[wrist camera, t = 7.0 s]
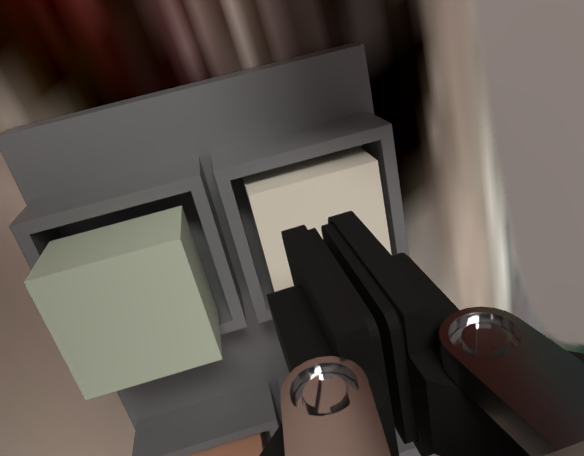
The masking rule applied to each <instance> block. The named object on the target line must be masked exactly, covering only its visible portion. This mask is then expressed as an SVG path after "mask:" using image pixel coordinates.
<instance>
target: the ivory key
mask: <svg viewBox="0 0 584 456" xmlns="http://www.w3.org/2000/svg"><path fill="white" fill-rule="evenodd" d="M242 179H243V183H244V186H245V190H246V194H247V197H248V201H249V204H250V208H251V212H252V215H253V219H254V223H255V226H256V230H257V234H258V237H259V241H260V244H261V248H262V252H263V255H264V259H265V263H266V266H267V270H268V273H269V277H270V280H271V283H272V287H273V290H274V292H276V291H279V290H282V289H286V288H289V287H292V286H294V284H293V280H292V276H291V272H290V268H289V264H288V260H287V256H286V252H285V248H284V244H283V239H282V235H281V231H284V230H287V229H291V228H294V227H297V226H301V225H305V226H306V228H307V229H308V230H309V229H312V228H316V230H317V231H318V233H319V234H320V236H321V237H322V239H323V236H322V231H321V226H322V225H326V224H328V217H331V216H334V215H338V214H341V213H344V212H348V211H353V212H354V213H355V215H356V216H357V217H358V218H359V219H360V220H361V221H362V222H363V224H364V225H365V226H366V227H367V228H368V229H369V230H370V231H371V233H372V234H373V235H374V236H375V237H376V238H377V239H378V240H379V242H380V243H381V244H382V245H383V246H384V247H385V248H386V250H387V251H388V252H389V253H390V254H391V247H390V240H389V234H388V227H387V220H386V213H385V207H384V200H383V193H382V186H381V180H380V173H379V166H378V160H376V159H375V158H374V157H372V156H371V155H370V154H368V153H367V152H366V151H364V150H363V149H362V148H360V147H359V146H356V147H352V148H348V149H345V150H341V151H337V152H333V153H330V154H326V155H322V156H319V157H315V158H311V159H308V160H304V161H300V162H296V163H293V164H289V165H285V166H282V167H278V168H274V169H270V170H267V171H263V172H259V173H256V174H252V175H248V176H244V177H242ZM391 255H392V254H391Z"/></svg>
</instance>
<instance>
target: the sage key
mask: <svg viewBox="0 0 584 456" xmlns="http://www.w3.org/2000/svg"><path fill="white" fill-rule="evenodd" d="M24 284H25V286H26V288H27V290H28V292H29V294H30V295H31V297H32V299H33V301H34V303H35V305H36V307H37V309H38V311H39V313H40V315H41V316H42V318H43V320H44V322H45V324H46V326H47V328H48V330H49V332H50V334H51V335H52V337H53V339H54V341H55V343H56V345H57V347H58V349H59V351H60V353H61V355H62V356H63V358H64V360H65V362H66V364H67V366H68V368H69V370H70V372H71V374H72V376H73V377H74V379H75V381H76V383H77V385H78V387H79V389H80V391H81V393H82V395H83V396H84V398H85V400H89V399H92V398H95V397H98V396H102V395H105V394H108V393H112V392H115V391H118V390H122V389H125V388H128V387H132V386H135V385H138V384H142V383H145V382H148V381H152V380H155V379H158V378H162V377H165V376H168V375H172V374H175V373H178V372H182V371H185V370H188V369H192V368H195V367H198V366H202V365H205V364H208V363H212V362H215V361H218V360H222V348H221V337H220V327H219V316H218V311H217V308H216V305H215V302H214V299H213V296H212V293H211V290H210V287H209V284H208V281H207V278H206V275H205V272H204V269H203V266H202V263H201V261H200V258H199V255H198V252H197V249H196V246H195V243H194V240H193V237H192V234H191V231H190V228H189V225H188V222H187V219H186V216H185V213H184V210H183V207H182V206H178V207H175V208H171V209H167V210H164V211H160V212H156V213H152V214H149V215H145V216H141V217H138V218H134V219H130V220H127V221H123V222H119V223H116V224H112V225H108V226H105V227H101V228H97V229H94V230H90V231H86V232H83V233H79V234H75V235H72V236H68V237H64V238H60V239H57V240H53V241H50V242H49V243H48V245H47V246H46V248H45V249H44V251H43V253H42V254H41V256H40V257H39V259H38V260H37V262H36V263H35V265H34V267H33V268H32V270H31V271H30V273H29V274H28V276H27V278H26V279H25V281H24Z"/></svg>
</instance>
